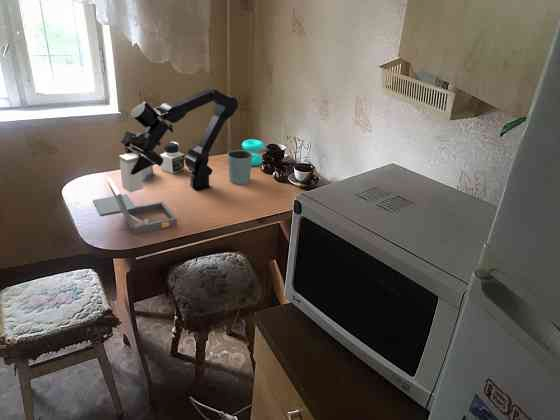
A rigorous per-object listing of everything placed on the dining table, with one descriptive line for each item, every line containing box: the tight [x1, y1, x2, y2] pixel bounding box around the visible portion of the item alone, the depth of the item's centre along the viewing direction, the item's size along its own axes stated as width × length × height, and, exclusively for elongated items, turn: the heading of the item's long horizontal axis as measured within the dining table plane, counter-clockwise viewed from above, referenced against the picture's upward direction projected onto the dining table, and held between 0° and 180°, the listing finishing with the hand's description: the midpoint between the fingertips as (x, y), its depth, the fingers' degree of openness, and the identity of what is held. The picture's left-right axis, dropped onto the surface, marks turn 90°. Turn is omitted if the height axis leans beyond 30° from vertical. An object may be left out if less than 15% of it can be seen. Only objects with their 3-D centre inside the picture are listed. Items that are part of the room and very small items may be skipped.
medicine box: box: [140, 153, 154, 181], centre depth 177 cm, size 8×4×9 cm, turn 169°
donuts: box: [241, 139, 265, 167], centre depth 198 cm, size 10×10×10 cm
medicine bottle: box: [159, 141, 185, 175], centre depth 184 cm, size 7×7×12 cm
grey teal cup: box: [227, 149, 253, 186], centre depth 178 cm, size 10×10×12 cm
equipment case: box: [105, 176, 178, 235], centre depth 143 cm, size 18×15×15 cm
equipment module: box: [118, 153, 144, 194], centre depth 149 cm, size 5×5×12 cm
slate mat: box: [92, 193, 136, 217], centre depth 155 cm, size 12×12×1 cm
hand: (127, 171), depth 147 cm, fingers closed on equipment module, 5 cm apart
